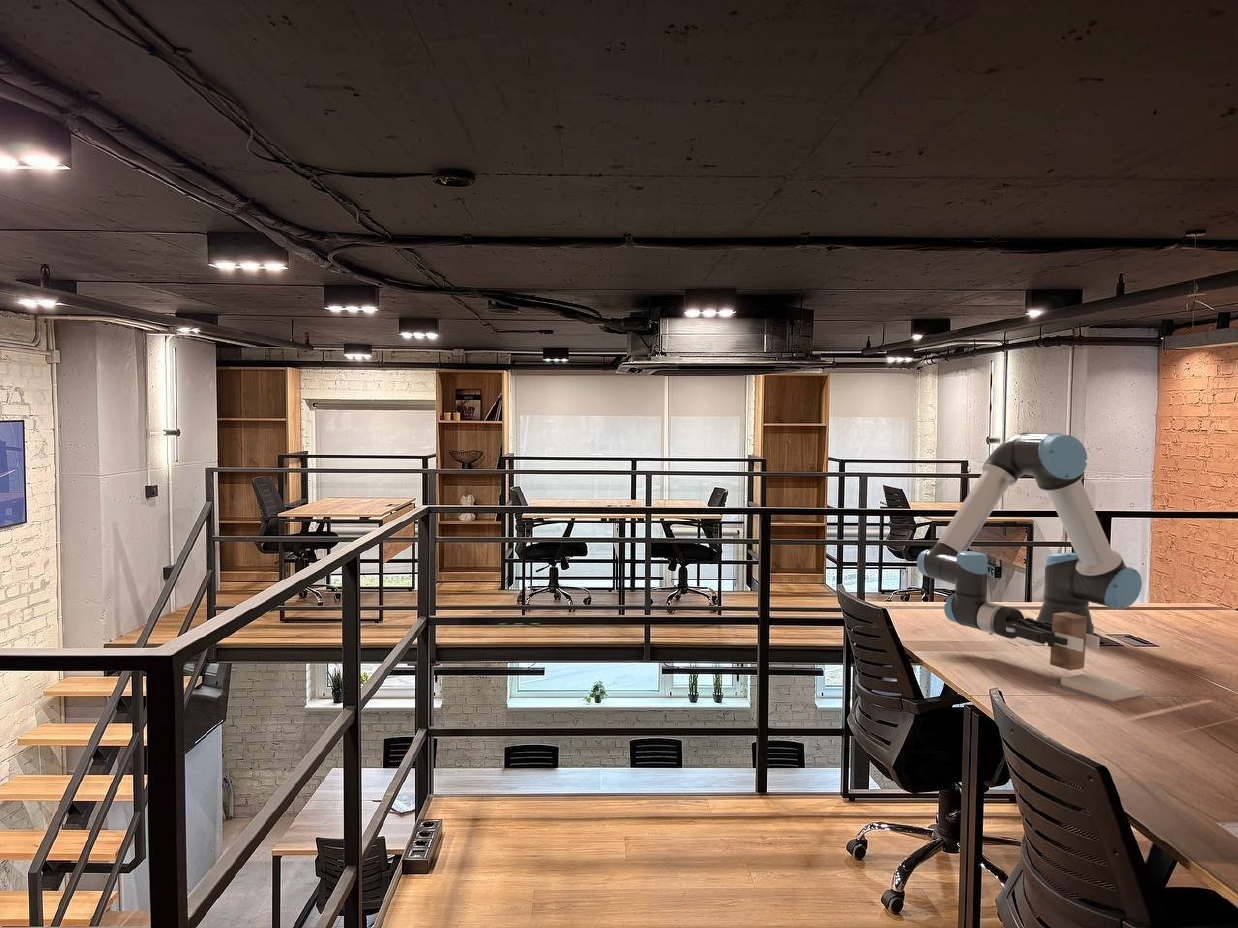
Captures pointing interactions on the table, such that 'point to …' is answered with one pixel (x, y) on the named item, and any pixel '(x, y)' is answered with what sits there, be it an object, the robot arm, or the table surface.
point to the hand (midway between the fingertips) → (1090, 644)
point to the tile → (1101, 687)
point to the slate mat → (1058, 685)
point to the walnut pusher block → (1072, 627)
